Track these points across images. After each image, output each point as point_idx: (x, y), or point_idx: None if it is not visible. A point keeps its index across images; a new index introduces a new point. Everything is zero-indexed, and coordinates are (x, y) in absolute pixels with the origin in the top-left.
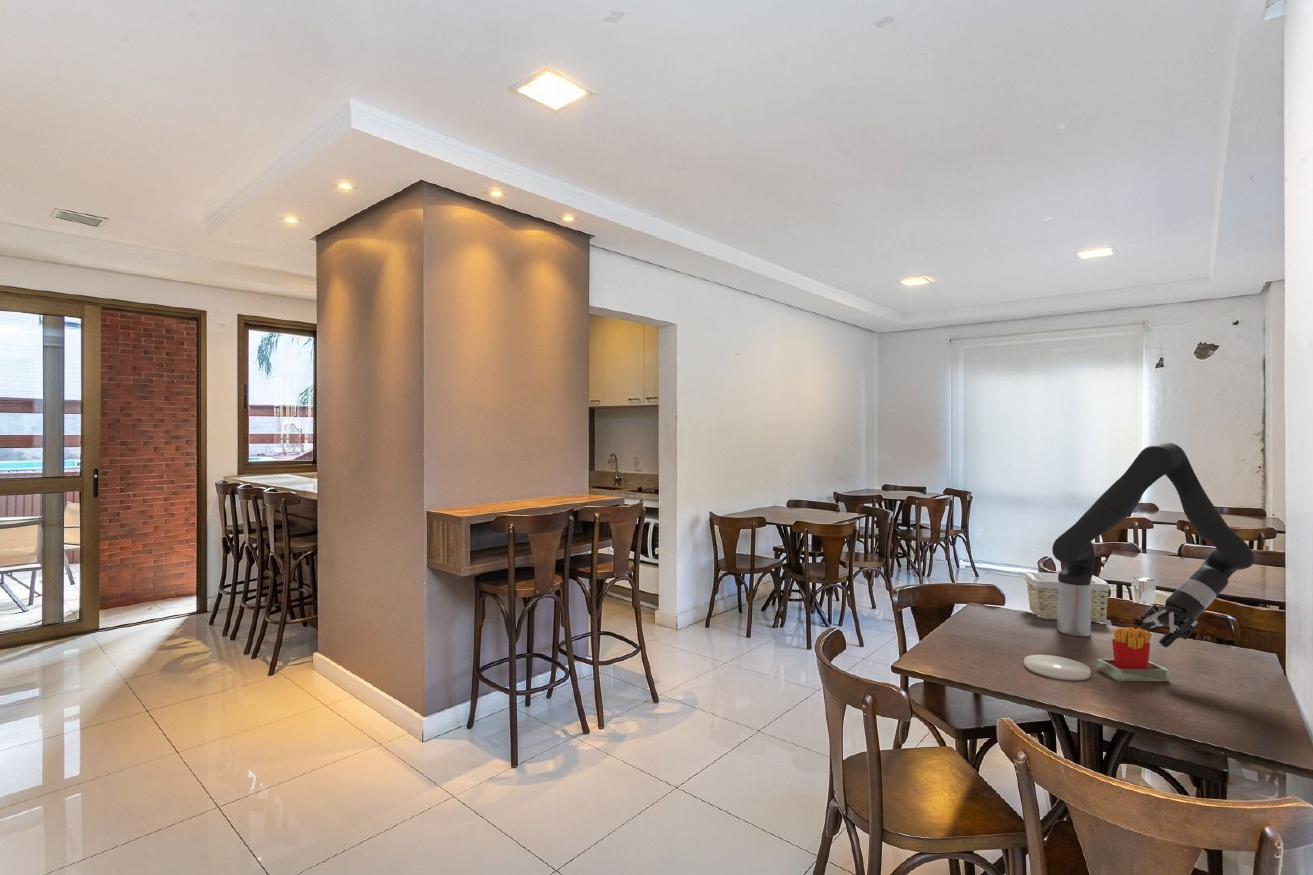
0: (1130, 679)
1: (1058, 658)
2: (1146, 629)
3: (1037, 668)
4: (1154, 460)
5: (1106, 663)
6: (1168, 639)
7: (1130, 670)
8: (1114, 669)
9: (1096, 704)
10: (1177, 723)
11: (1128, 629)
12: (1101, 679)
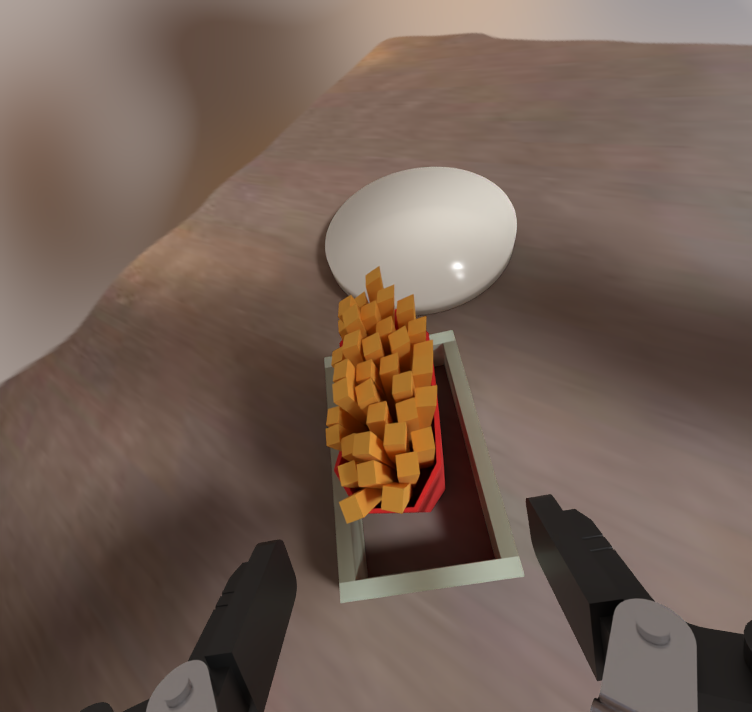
0: None
1: (484, 243)
2: (571, 608)
3: (369, 184)
4: None
5: None
6: (219, 602)
7: (328, 402)
8: None
9: (181, 263)
10: (55, 386)
11: (376, 346)
12: None
